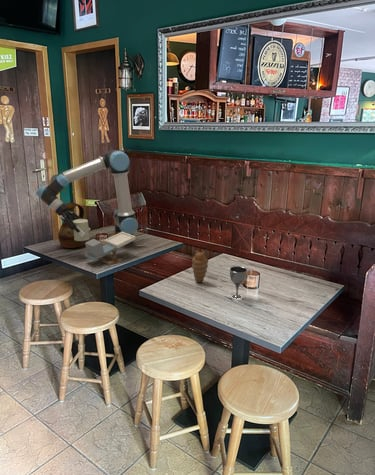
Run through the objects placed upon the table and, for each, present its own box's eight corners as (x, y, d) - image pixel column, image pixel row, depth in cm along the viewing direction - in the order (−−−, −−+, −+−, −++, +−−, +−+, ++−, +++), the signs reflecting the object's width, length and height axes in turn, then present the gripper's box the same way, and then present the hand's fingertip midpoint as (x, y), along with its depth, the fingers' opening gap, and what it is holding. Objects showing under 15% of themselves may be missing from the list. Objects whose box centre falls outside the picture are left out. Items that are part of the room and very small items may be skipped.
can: (91, 236, 236) (90, 218, 233) (86, 241, 227) (84, 222, 224) (77, 236, 237) (75, 218, 233) (71, 240, 228) (70, 221, 225)
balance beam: (123, 236, 244) (120, 224, 240) (136, 241, 234) (133, 229, 231) (83, 255, 226) (79, 243, 223) (95, 261, 217) (92, 248, 213)
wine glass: (228, 293, 189) (229, 266, 185) (243, 294, 189) (245, 266, 185) (229, 300, 182) (230, 272, 177) (245, 301, 181) (247, 272, 177)
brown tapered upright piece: (208, 280, 204) (209, 249, 199) (205, 286, 197) (206, 254, 191) (193, 278, 207) (194, 247, 201) (189, 284, 199) (189, 252, 194)
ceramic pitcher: (53, 246, 255) (49, 203, 246) (77, 239, 271) (73, 198, 262) (72, 252, 245) (68, 207, 236) (95, 244, 260) (93, 202, 251)
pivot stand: (109, 255, 240) (108, 243, 238) (123, 261, 230) (122, 249, 228) (95, 258, 234) (95, 246, 231) (109, 265, 223) (108, 252, 221)
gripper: (62, 207, 239) (88, 232, 242) (47, 215, 218) (76, 242, 222) (69, 199, 237) (96, 224, 240) (55, 207, 216) (84, 234, 220)
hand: (86, 233), depth 231 cm, fingers closed on can, 9 cm apart
